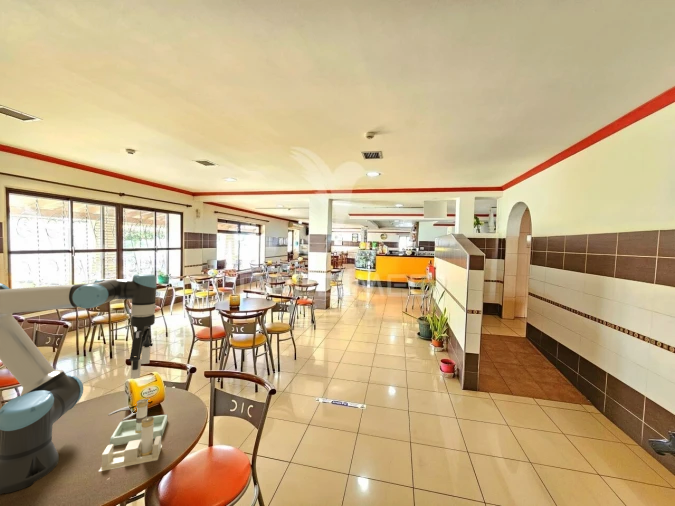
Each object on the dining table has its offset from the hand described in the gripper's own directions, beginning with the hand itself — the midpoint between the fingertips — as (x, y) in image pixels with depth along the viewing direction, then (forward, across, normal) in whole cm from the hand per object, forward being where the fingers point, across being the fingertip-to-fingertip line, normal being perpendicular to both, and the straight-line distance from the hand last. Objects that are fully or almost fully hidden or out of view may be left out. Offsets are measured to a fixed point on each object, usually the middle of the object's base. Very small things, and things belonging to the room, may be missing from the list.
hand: (140, 370), depth 109 cm
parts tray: (+25, 0, -1) cm, 25 cm away
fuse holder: (+25, -14, -2) cm, 29 cm away
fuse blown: (+24, 0, -1) cm, 24 cm away
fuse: (+24, -14, -6) cm, 28 cm away
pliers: (+26, +21, +6) cm, 34 cm away
